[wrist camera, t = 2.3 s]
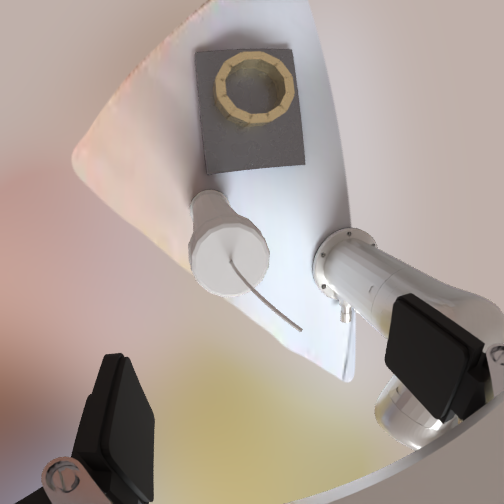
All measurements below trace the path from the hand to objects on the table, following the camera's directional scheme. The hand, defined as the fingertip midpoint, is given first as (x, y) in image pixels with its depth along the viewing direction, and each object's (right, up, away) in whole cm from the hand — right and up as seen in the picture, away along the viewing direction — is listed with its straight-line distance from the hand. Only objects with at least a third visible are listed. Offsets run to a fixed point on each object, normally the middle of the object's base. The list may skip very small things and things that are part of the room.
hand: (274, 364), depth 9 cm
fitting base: (-1, +24, +29) cm, 38 cm away
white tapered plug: (-7, +10, +33) cm, 35 cm away
